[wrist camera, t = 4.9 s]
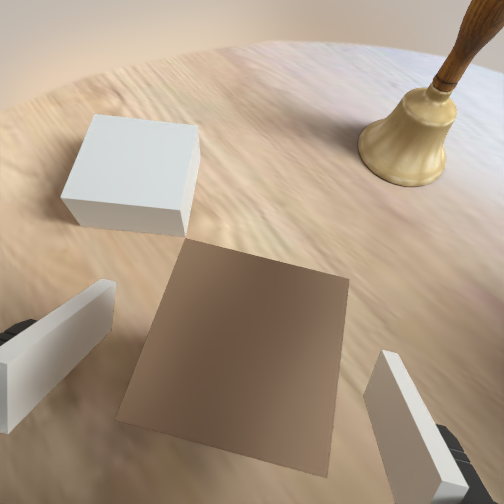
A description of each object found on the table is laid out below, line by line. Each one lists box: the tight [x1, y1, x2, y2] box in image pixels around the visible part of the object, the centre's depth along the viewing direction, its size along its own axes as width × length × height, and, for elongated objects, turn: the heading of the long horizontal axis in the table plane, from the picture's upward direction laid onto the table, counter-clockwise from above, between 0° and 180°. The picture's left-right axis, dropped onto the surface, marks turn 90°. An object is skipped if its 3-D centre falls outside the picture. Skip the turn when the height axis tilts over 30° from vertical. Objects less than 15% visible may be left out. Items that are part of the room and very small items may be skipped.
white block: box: [60, 114, 200, 237], centre depth 26 cm, size 8×8×4 cm
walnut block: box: [115, 238, 349, 478], centre depth 15 cm, size 5×5×14 cm
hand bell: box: [358, 0, 504, 187], centre depth 25 cm, size 8×8×16 cm
